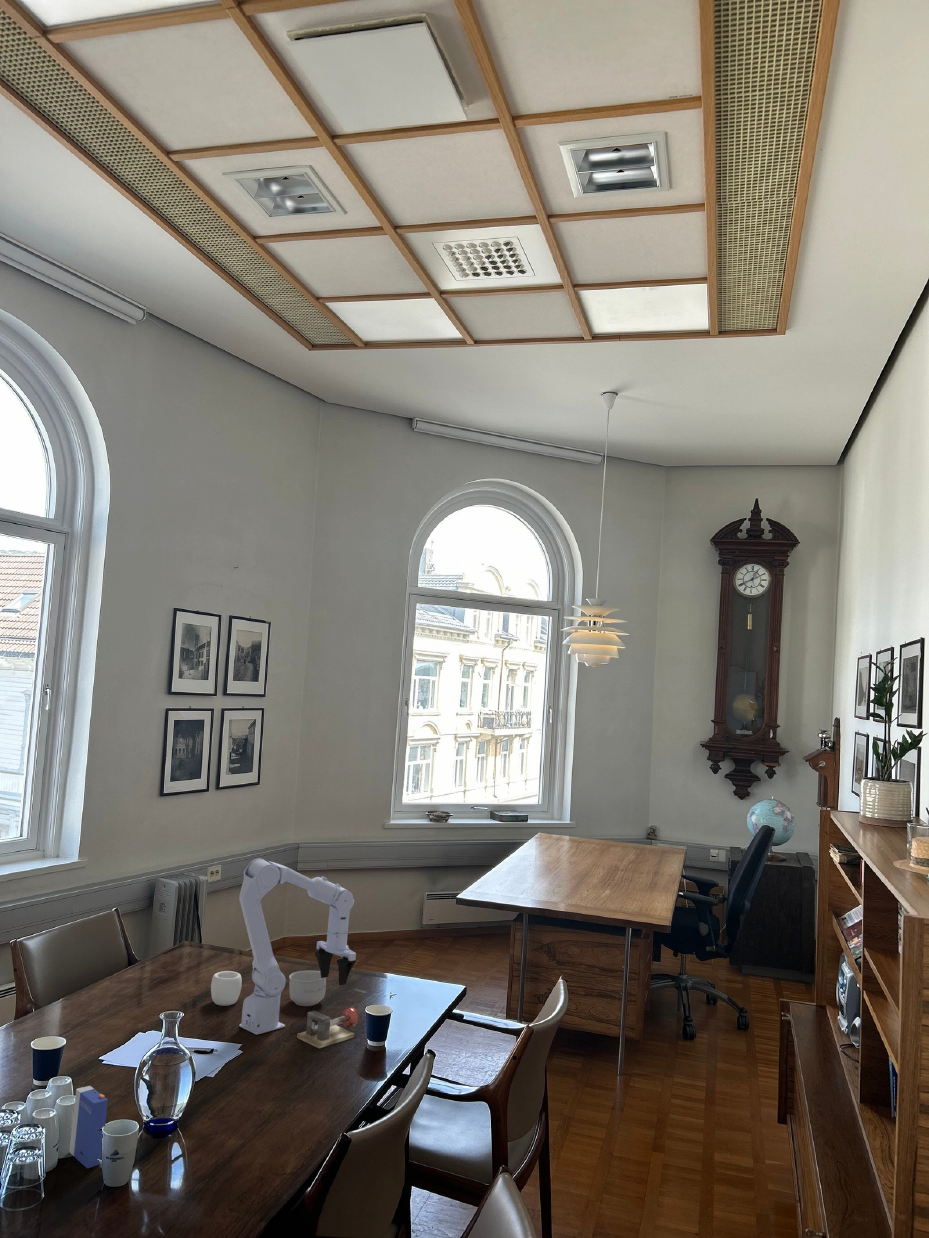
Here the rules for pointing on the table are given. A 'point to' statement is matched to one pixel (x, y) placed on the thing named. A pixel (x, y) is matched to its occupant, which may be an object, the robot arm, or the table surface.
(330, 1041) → the eye bracket
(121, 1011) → the table surface
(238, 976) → the mug
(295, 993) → the teacup
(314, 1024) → the hook rod
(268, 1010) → the robot arm
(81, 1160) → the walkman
